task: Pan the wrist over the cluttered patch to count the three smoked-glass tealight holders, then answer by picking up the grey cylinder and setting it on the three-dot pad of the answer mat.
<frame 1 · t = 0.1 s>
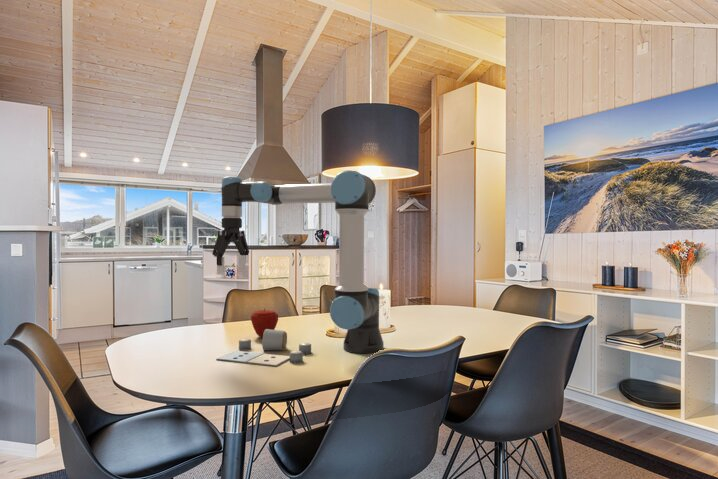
hand: (231, 273, 170), 28 cm above the table, fingers open, 13 cm apart
tealight 1: (296, 361, 150), on the table
tealight 3: (244, 348, 167), on the table
apple: (264, 337, 186), on the table
answer mat: (255, 358, 152), on the table
tealight 2: (305, 353, 161), on the table
grey cylinder: (274, 349, 166), on the table
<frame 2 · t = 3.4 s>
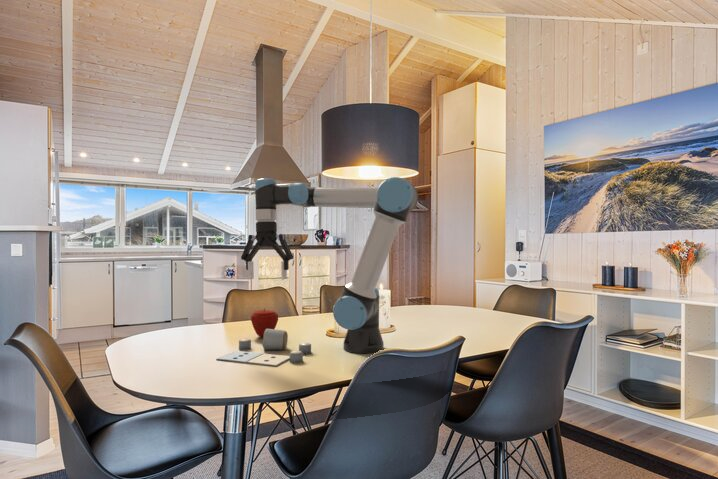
hand: (267, 279, 163), 26 cm above the table, fingers open, 13 cm apart
nothing on the table moved.
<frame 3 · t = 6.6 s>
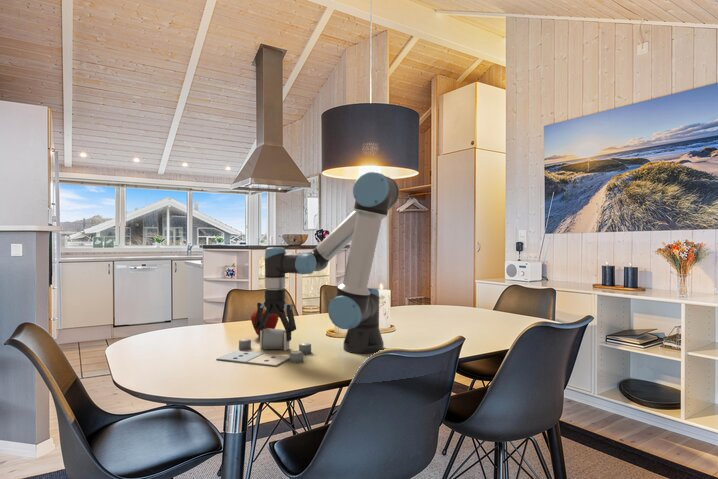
hand: (274, 348, 166), 0 cm above the table, fingers open, 9 cm apart
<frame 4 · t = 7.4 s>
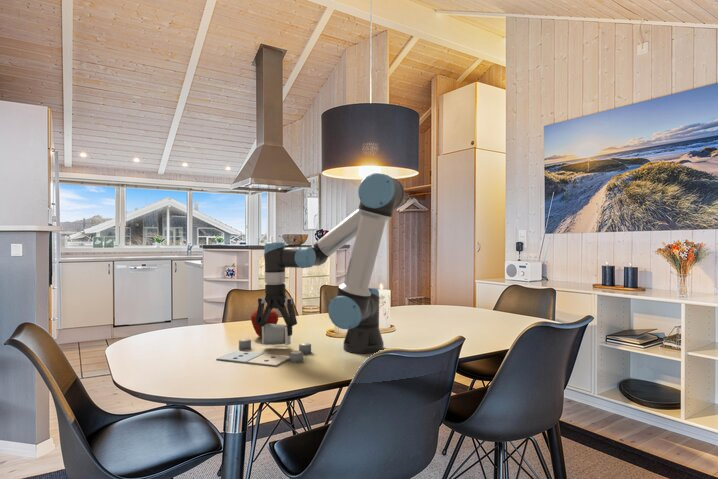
hand: (276, 343, 166), 2 cm above the table, fingers closed on grey cylinder, 9 cm apart
grey cylinder: (276, 343, 168), point 1 cm above the table, touching gripper
everything else where it was.
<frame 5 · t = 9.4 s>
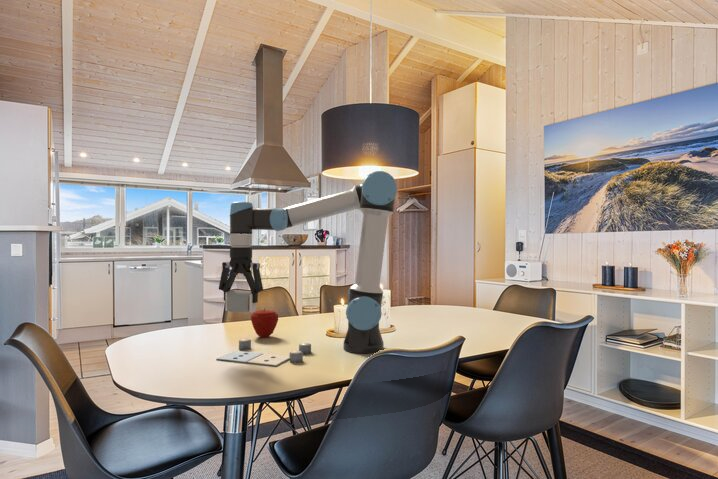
hand: (240, 311, 154), 16 cm above the table, fingers closed on grey cylinder, 9 cm apart
grey cylinder: (241, 311, 156), point 16 cm above the table, touching gripper
everything else where it was.
when the fingers open (1 cm above the table, at t = 11.7 s): grey cylinder stays where it is, resting on answer mat.
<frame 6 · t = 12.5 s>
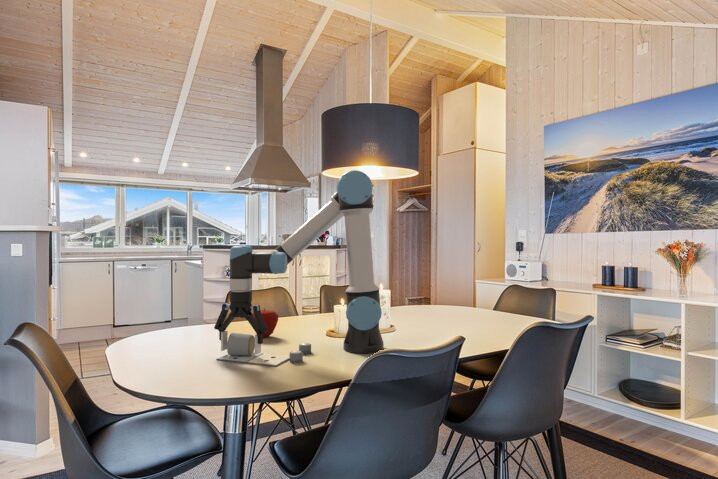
hand: (240, 351, 154), 2 cm above the table, fingers open, 13 cm apart
grey cylinder: (241, 354, 156), resting on answer mat
everything else where it was.
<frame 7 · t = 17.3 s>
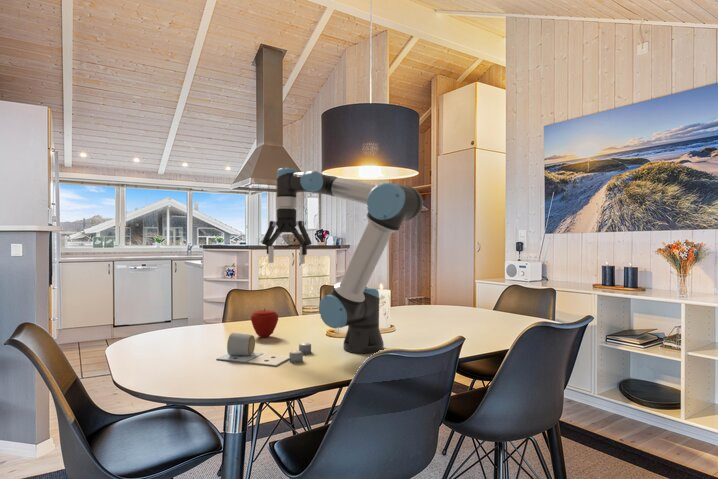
hand: (286, 263, 172), 32 cm above the table, fingers open, 13 cm apart
nothing on the table moved.
at the end: grey cylinder inside the target area (1.9 cm from its centre), resting on answer mat; grey cylinder touching answer mat; the gripper is holding nothing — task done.
